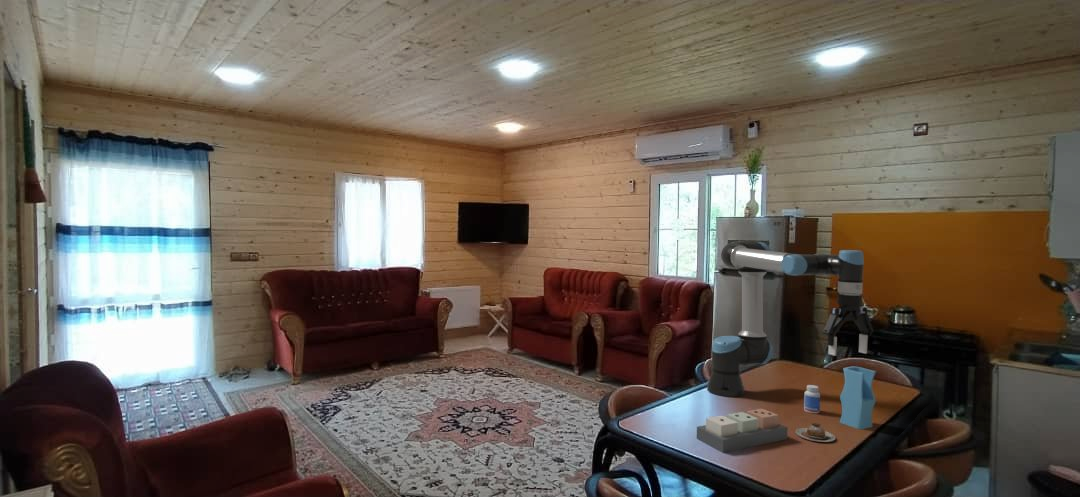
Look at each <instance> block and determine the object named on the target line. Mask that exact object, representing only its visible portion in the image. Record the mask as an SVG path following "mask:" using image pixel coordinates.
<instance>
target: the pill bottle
mask: <svg viewBox="0 0 1080 497" xmlns="http://www.w3.org/2000/svg"><path fill="white" fill-rule="evenodd" d="M803 398H804V399H803V400H804V403H803V410H804V412H806V413H809V414H819V413H820V411H821V409H820V408H821V393H820V392H819V386H818V385H813V384H807V385H806V390H805V391H804V397H803Z"/></svg>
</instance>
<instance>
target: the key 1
mask: <svg viewBox="0 0 1080 497" xmlns="http://www.w3.org/2000/svg"><path fill="white" fill-rule="evenodd" d="M705 425H706V430H708V431H710V432H712V433H714V434H716V435H718V436H720V437H724V436H729V435H734V434H738V422H736V421H734V420H731V419H729V418H727V416H725V415H717V416H712V417H706V418H705Z"/></svg>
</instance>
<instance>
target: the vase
mask: <svg viewBox="0 0 1080 497" xmlns="http://www.w3.org/2000/svg"><path fill="white" fill-rule="evenodd" d="M842 369H843V374H844V375H843V376H844V385H843V388H842V391H841V394H840V396H839V399H840V402H841V410H842V411H841V416H840V420H839V423H840V424H843V425H846V426H849V427H851V428H854V429H856V430H857V429H858V430H865V429H869V428H873V421H872V420H873V419H872V416H873V415H872V414H873V410H874V406H875V403H876V396H875V394H874V391H873V381H874V378H875V375H876V373H877V371H876V370H872V369H868V368H865V367H860V366H847V367H843V368H842Z"/></svg>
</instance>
